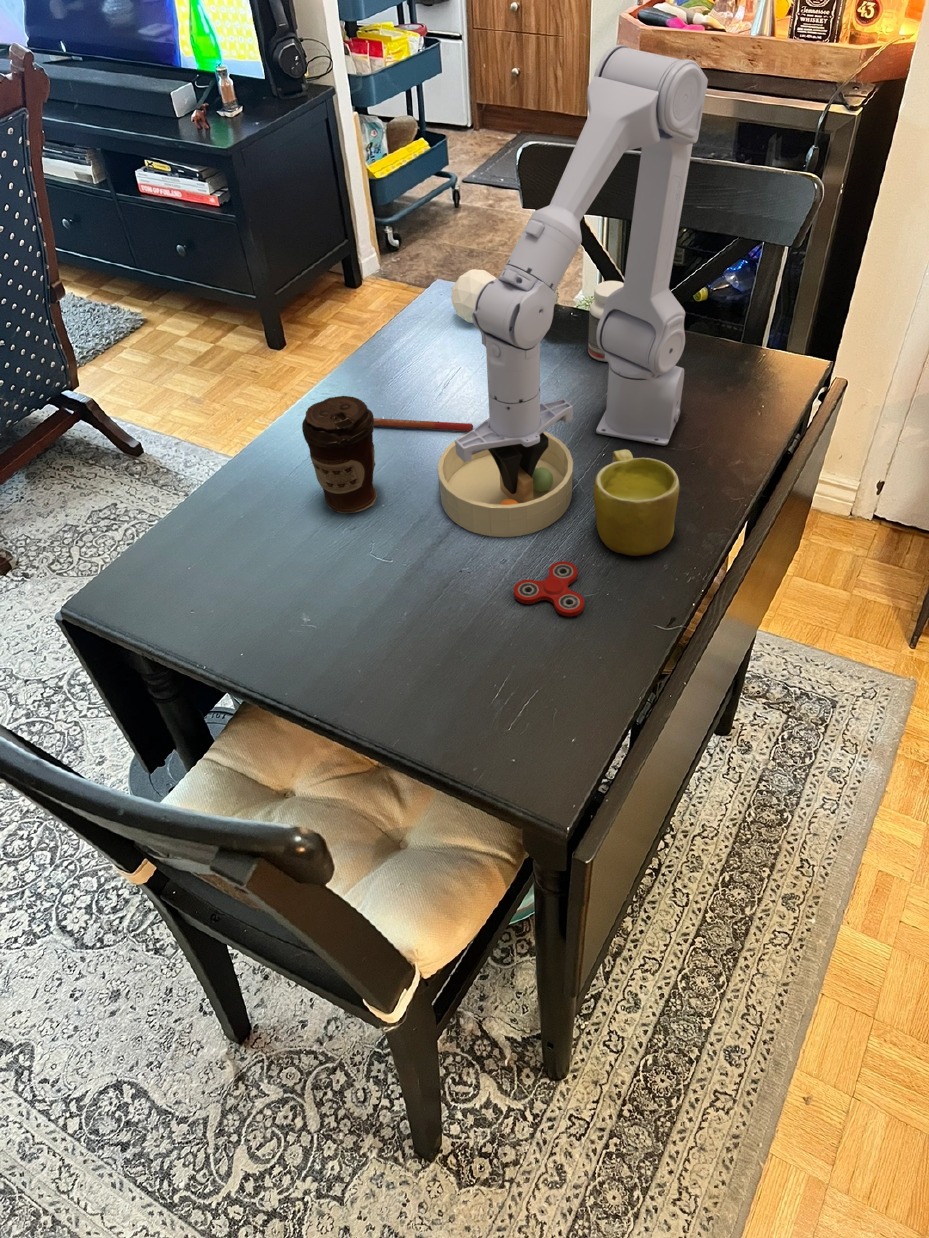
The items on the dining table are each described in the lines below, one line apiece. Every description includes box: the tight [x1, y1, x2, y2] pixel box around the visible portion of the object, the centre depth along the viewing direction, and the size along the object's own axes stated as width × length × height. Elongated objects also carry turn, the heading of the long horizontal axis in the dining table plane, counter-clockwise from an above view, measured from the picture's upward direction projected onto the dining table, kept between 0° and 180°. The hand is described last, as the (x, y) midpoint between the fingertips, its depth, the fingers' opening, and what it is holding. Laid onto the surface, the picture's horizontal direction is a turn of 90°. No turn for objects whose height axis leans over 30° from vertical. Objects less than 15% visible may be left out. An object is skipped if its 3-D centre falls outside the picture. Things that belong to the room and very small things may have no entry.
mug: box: [592, 448, 680, 557], centre depth 104 cm, size 12×10×10 cm
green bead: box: [532, 467, 553, 492], centre depth 111 cm, size 3×3×3 cm
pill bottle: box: [587, 280, 624, 363], centre depth 130 cm, size 6×6×10 cm
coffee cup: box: [301, 395, 378, 514], centre depth 109 cm, size 9×8×13 cm
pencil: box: [373, 417, 474, 432], centre depth 123 cm, size 19×1×1 cm, turn 80°
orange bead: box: [499, 499, 519, 505], centre depth 107 cm, size 3×3×3 cm
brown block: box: [500, 466, 533, 503], centre depth 110 cm, size 1×6×4 cm, turn 29°
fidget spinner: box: [513, 560, 585, 617], centre depth 100 cm, size 8×7×1 cm
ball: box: [451, 268, 497, 324], centre depth 140 cm, size 8×8×8 cm
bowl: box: [437, 431, 574, 538], centre depth 111 cm, size 16×16×4 cm
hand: (516, 486), depth 110 cm, fingers closed on brown block, 1 cm apart
